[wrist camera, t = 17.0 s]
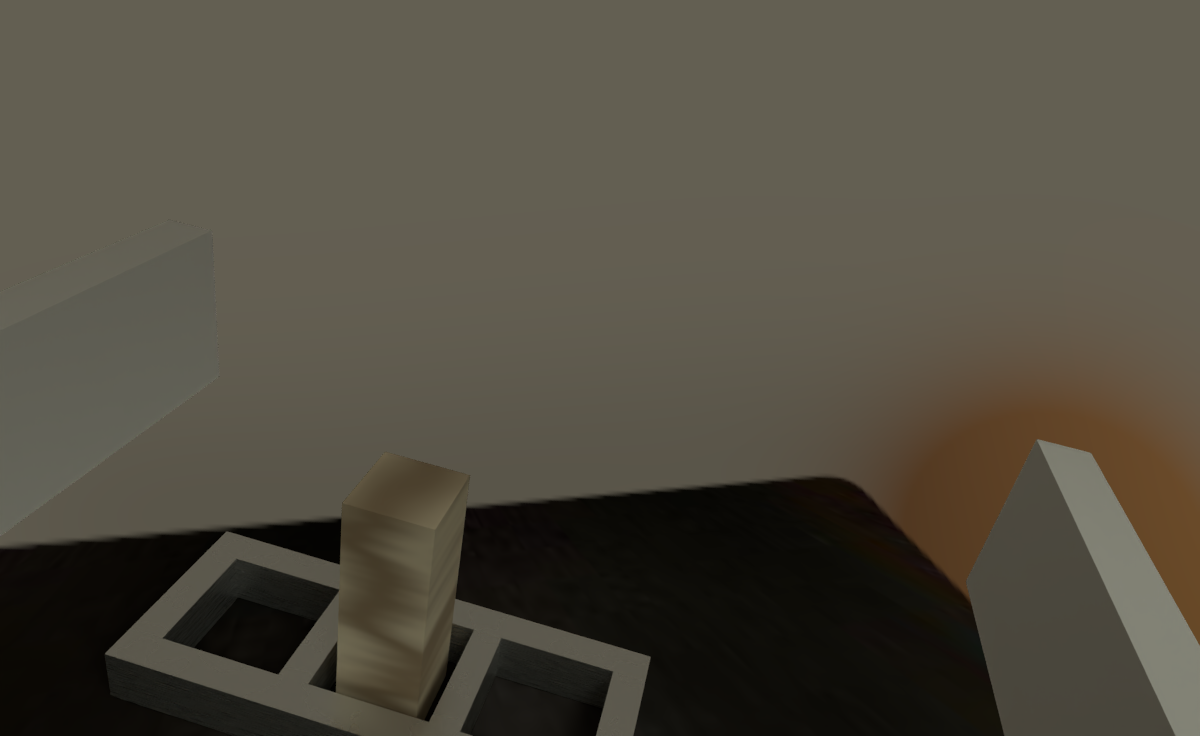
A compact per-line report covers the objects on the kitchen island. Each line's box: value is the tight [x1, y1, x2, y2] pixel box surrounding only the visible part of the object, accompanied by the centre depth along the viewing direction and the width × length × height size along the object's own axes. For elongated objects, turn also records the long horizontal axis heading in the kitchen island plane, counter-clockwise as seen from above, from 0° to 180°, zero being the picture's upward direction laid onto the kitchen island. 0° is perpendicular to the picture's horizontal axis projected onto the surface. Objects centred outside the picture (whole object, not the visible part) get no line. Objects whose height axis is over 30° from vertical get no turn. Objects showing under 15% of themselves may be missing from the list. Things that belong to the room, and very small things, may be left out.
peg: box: [336, 452, 470, 720], centre depth 43 cm, size 4×4×14 cm
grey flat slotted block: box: [105, 532, 650, 736], centre depth 45 cm, size 26×10×3 cm, turn 78°
